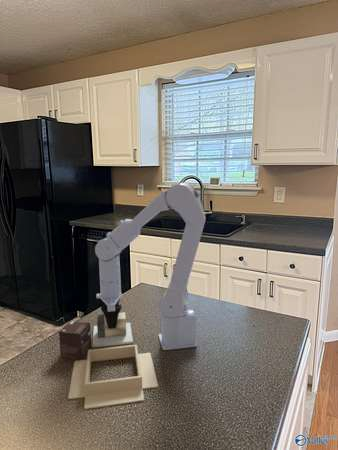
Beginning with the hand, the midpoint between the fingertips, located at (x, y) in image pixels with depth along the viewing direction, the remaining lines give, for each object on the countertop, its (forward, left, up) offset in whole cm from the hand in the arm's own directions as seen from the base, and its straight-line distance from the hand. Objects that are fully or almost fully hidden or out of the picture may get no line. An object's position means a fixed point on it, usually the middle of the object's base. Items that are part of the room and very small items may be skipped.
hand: (112, 323), depth 92 cm
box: (+10, +7, -4) cm, 12 cm away
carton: (0, +18, -3) cm, 18 cm away
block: (0, 0, -3) cm, 3 cm away
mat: (0, 0, -3) cm, 3 cm away
